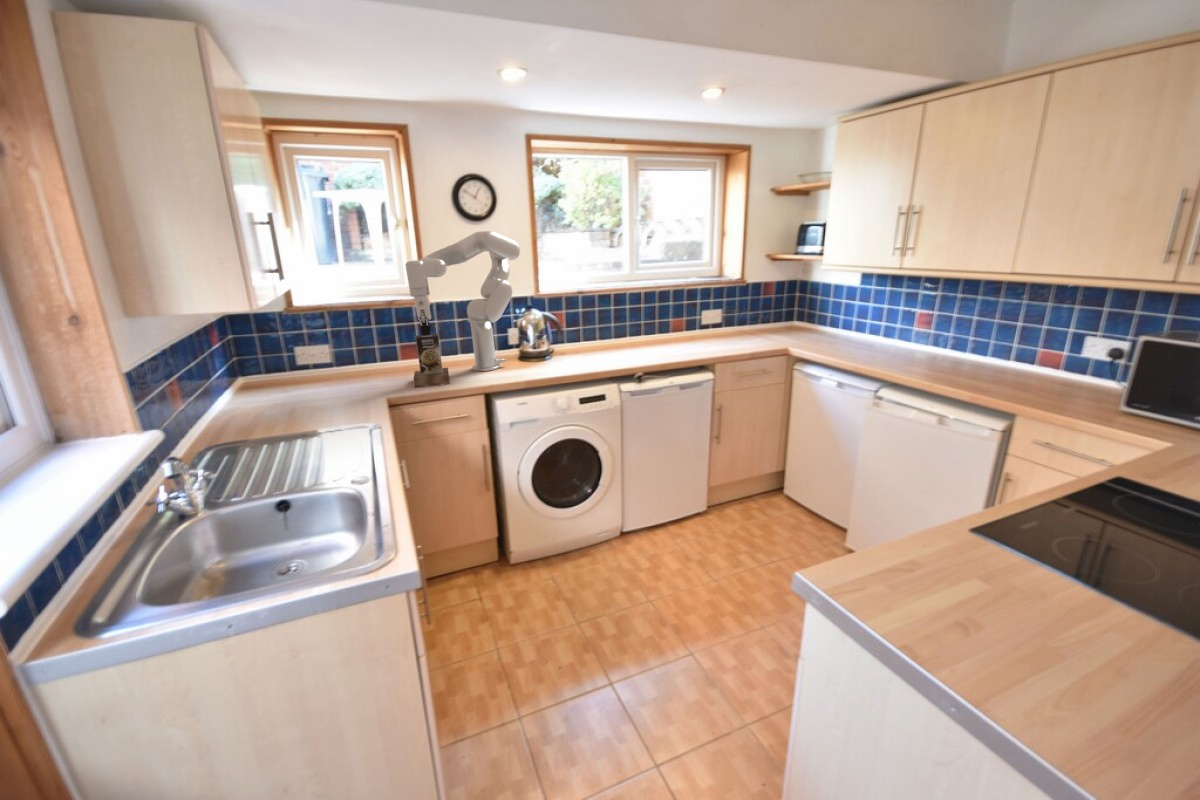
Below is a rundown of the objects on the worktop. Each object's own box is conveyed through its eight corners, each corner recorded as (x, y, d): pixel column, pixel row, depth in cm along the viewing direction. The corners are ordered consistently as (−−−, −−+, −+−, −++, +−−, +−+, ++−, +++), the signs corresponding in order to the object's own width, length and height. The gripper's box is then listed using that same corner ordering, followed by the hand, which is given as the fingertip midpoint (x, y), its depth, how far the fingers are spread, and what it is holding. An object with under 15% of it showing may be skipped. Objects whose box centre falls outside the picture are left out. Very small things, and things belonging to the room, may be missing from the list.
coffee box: (421, 375, 222) (415, 337, 217) (420, 372, 227) (414, 335, 222) (443, 373, 225) (438, 335, 220) (442, 369, 230) (437, 333, 225)
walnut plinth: (449, 376, 235) (447, 367, 234) (449, 383, 223) (448, 374, 222) (416, 379, 231) (414, 371, 230) (415, 387, 219) (413, 378, 218)
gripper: (429, 293, 208) (435, 336, 214) (429, 288, 224) (435, 328, 230) (409, 295, 206) (416, 338, 212) (410, 290, 222) (417, 330, 228)
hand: (426, 333), depth 221 cm, fingers open, 9 cm apart
